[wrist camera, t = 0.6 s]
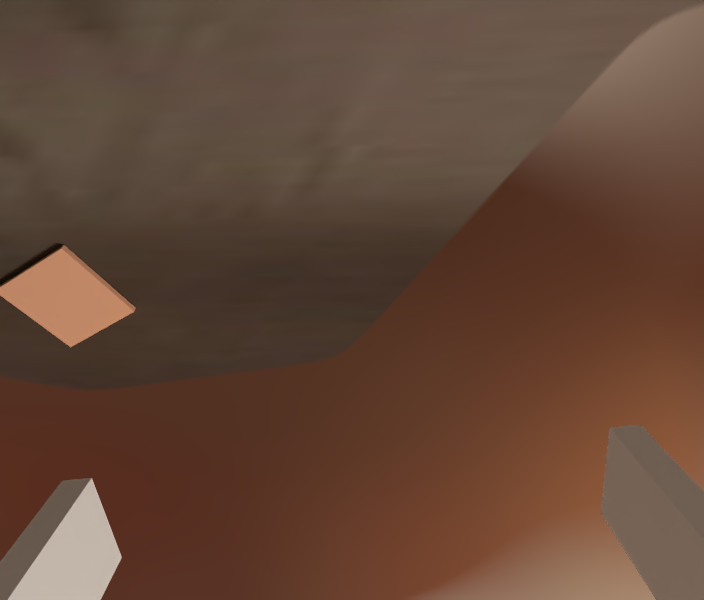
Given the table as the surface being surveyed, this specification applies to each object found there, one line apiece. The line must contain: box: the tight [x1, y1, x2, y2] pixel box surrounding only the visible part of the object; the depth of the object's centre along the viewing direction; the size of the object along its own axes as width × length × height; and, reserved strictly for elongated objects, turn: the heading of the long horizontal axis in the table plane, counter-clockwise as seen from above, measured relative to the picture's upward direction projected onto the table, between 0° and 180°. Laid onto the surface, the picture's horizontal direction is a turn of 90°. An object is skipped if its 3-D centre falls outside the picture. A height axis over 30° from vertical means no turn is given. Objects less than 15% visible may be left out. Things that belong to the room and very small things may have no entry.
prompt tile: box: [0, 245, 135, 347], centre depth 32 cm, size 6×6×1 cm
